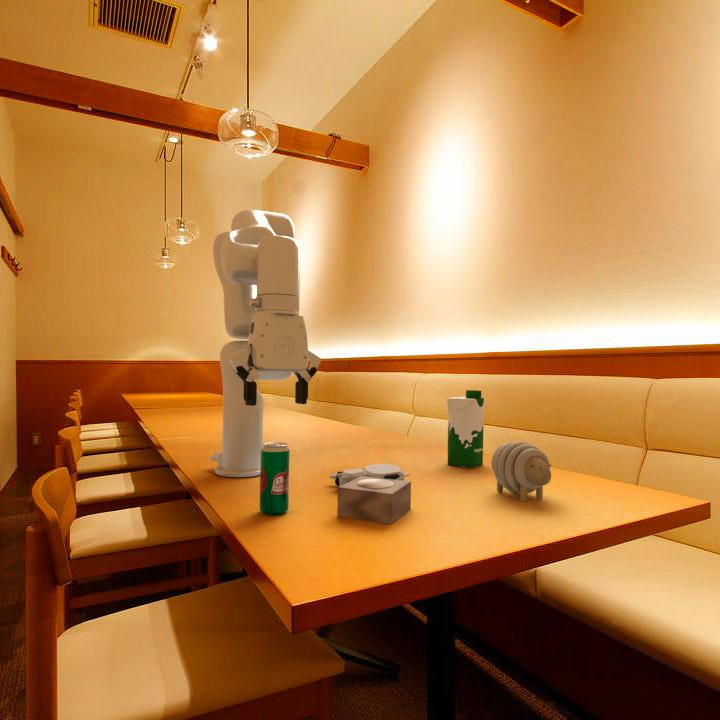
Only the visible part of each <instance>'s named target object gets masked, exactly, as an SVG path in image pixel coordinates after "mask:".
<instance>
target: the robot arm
mask: <svg viewBox="0 0 720 720" xmlns="http://www.w3.org/2000/svg"><path fill="white" fill-rule="evenodd" d="M230 228H231V231H224V232H220V233H219V234H217V235H216V236H215V237H214V240H213V245H212V254H213V256H212V257H213V262H214V266H215V271H216V273H217V277H218V279H219V281H220V283H221V287H222V290H223V291H222V292H223V311H224V312H223V314H224V327H225V331H226V333H227V335H228V336H229V337H230V338H233V339H237V340H232V341H229V342H227V343H225V344H224V345H223V346H222V348H221V349H220V353H219V364H220V370H221V378H222V379H221V380H222V430H221V433H222V434H221V435H222V436H221V437H222V438H221V439H222V440H221V452H218V451H215V452H213V454H211V456H210V457H209V459H210V461H211V462H217V466H215V467H214V473H215V474H216V475H218V476H221V477H227V478H247V477H248V478H249V477H257V476H260V456H261V449H262V448H263V444H264V443H263V441H264V397H263V395H262V392H261V391H260V390H259V389H258V385H257V382H256V381H283V380H284V381H285V380H287V379H289V378H290V377H291V376H292V374H293V375H294V376H295V377H296V378H297V381H296V382H295V384H294V385H295V389H294V390H295V393H294V394H295V395H294V400H295V403H296V404H297V405H298V404H299V405H307V402H308V398H309V383H310V382H311V380H312V378H313V376H315V375H316V373H317V371H318V368H319V366H320V364H321V362H322V358H321V357H319V356H317V354H315V353H313V352H311V351H310V350H309V345H308V341H309V340H308V334H307V328H306V322H305V318H304V315H300V293H301V292H300V288H301V287H300V286H301V285H300V283H301V280H300V279H301V278H300V277H301V276H300V275H301V247H300V244H299V242H298V241H297V240H296V239H295V236H296V235H295V234H296V233H295V232H296V231H295V225H294V222H293V221H292V219H291V218H290V217H289V216H288V215H286V214H284V213H281V212H280V213H278V212H272V211H271V212H270V211H264V210H256V209H255V210H254V209H244V210H241V211H239V212H237V213H236V214H235V215H234V217H233V218H232V220H231V227H230Z"/></svg>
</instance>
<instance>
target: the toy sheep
mask: <svg viewBox="0 0 720 720" xmlns="http://www.w3.org/2000/svg"><path fill="white" fill-rule="evenodd" d="M548 458H549V457H548V456H547V455H546V453H544V452H543V451H542V450H541V449H539V448H538V447H537V446H536V445H533V444H530V443H528V442H525V441H511V442H507V443H503V444H501V445H500V446H498V447H497V448H496V449H495V450H494V452H493V455H492V458H491V468H492V471H493V474H494V476H495V479H496V491H497V493H502V492H503V491H504V489H506V490H507V491H509V492H510V493H513V494H517V495H518V494H519V500H520V501H521V502H522V503H525V502H527V500H528V494H530V493H533V492H535V498H536V500H539V501H542V500H543V499H544V493H543V492H544V486H546V485H548V484H550V482H551V480H552V473H551V467H552V463H550V460H549V459H548Z"/></svg>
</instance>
